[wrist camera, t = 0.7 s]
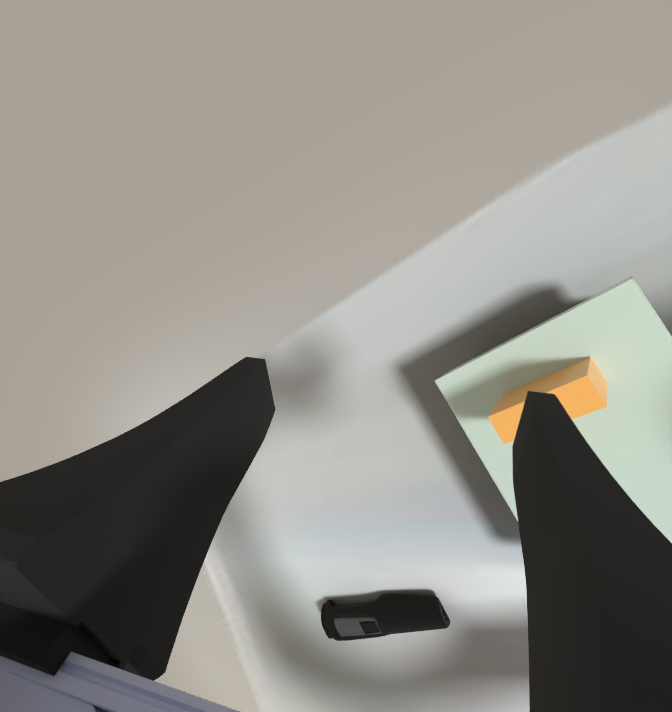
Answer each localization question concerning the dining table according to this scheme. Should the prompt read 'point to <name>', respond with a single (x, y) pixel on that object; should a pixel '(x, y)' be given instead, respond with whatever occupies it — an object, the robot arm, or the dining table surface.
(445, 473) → the dining table surface
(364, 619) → the electric trimmer
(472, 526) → the dining table surface
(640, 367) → the lid
